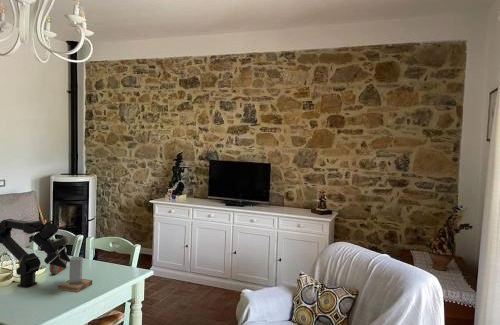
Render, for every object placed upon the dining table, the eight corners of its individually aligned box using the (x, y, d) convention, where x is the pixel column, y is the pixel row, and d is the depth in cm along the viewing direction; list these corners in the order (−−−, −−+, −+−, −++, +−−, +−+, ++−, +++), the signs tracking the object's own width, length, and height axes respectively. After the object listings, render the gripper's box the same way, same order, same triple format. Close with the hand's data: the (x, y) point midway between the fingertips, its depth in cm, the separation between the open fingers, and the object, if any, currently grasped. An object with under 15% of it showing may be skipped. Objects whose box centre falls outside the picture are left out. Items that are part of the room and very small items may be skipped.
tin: (53, 276, 208) (54, 260, 207) (48, 275, 208) (48, 260, 207) (67, 267, 223) (67, 252, 222) (62, 266, 223) (62, 252, 222)
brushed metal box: (79, 284, 193) (80, 259, 192) (68, 284, 192) (69, 260, 191) (81, 280, 198) (82, 256, 197) (70, 281, 197) (71, 257, 196)
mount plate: (77, 292, 188) (77, 288, 188) (57, 289, 190) (57, 285, 190) (92, 283, 199) (92, 280, 199) (73, 281, 202) (73, 277, 202)
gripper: (52, 236, 182) (76, 258, 186) (62, 227, 201) (83, 248, 204) (33, 252, 181) (58, 275, 184) (44, 242, 199) (67, 262, 202)
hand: (67, 264), depth 194 cm, fingers open, 9 cm apart
